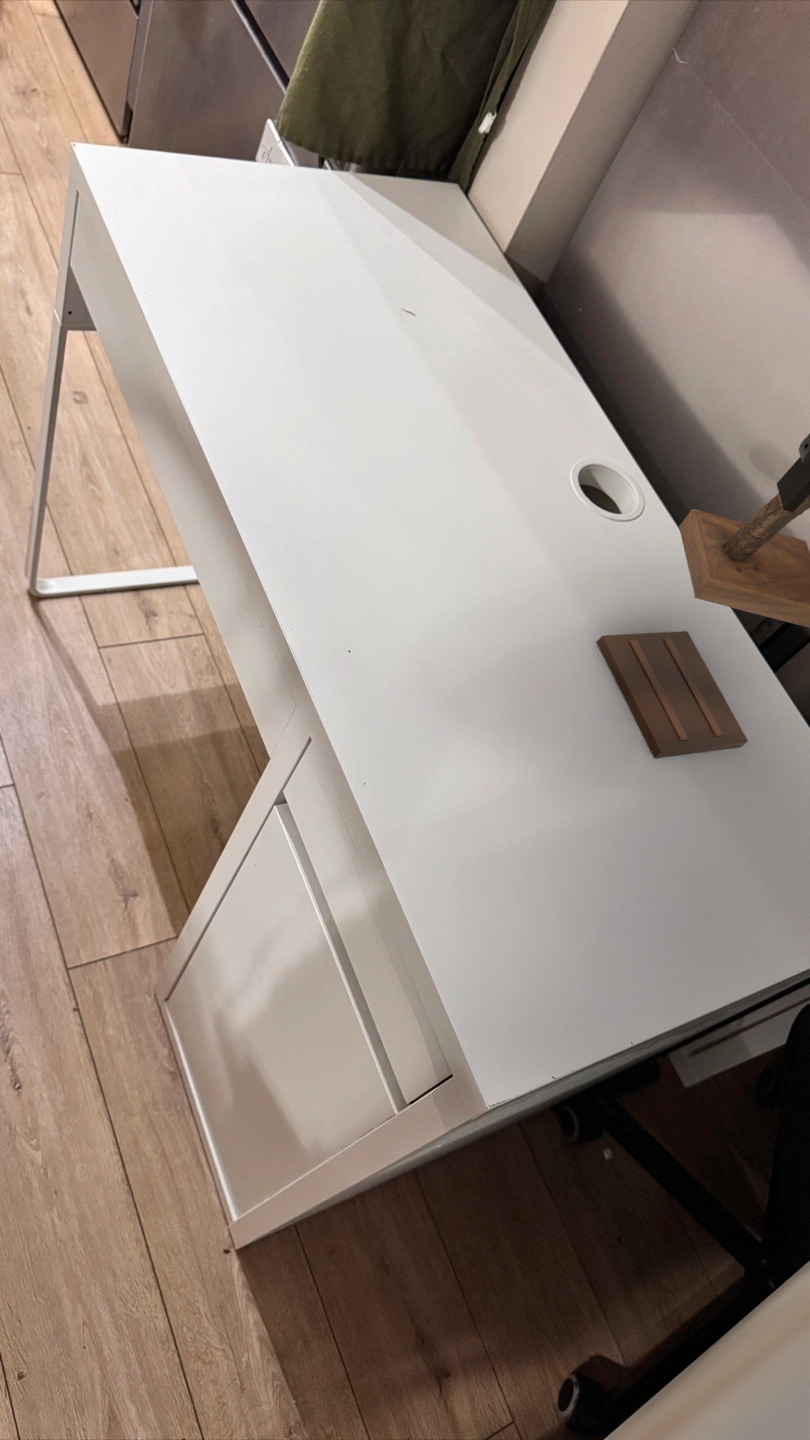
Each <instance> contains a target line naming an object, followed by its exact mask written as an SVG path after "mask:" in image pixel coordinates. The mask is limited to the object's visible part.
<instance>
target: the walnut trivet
mask: <svg viewBox="0 0 810 1440" xmlns="http://www.w3.org/2000/svg"><path fill="white" fill-rule="evenodd" d="M596 644H597V646H598V649H599V650H600V652H601V654H602V656H603V657H604V660H605V662H606V664H607V666H608V668H609V670H610V672H611V674H612V676H613V678H614V680H615V682H616V684H617V686H618V688H619V690H620V692H621V694H622V696H623V698H624V700H625V702H626V703H627V706H628V708H629V710H630V712H631V714H632V716H633V718H634V720H635V721H636V724H637V726H638V728H639V730H640V732H641V733H642V736H643V738H644V740H645V742H646V744H647V746H648V748H649V749H650V752H651V754H652V755H653V758H654V759H658V758H665V757H674V756H680V755H681V756H682V755H687V754H688V755H689V754H696V753H705V752H713V751H719V750H727V749H735V748H742V747H743V746H744V745H745V744H747V743H748V742H749V740H748V738H747V737H746V734H745V733H744V731H743V728H742V727H741V725H740V724H739V722H738V720H737V719H736V717H735V715H734V712H733V711H732V709H731V707H730V705H729V704H728V702H727V700H726V699H725V697H724V695H723V693H722V691H721V690H720V688H719V686H718V684H717V682H716V680H715V679H714V677H713V675H712V673H711V671H710V669H709V668H708V666H707V665H706V662H705V661H704V659H703V657H702V655H701V654H700V652H699V650H698V647H697V646H696V644H695V643H694V641H693V639H692V637H691V635H690V633H689V631H687V630H686V631H681V630H680V631H665V632H664V631H663V632H662V631H661V632H646V633H643V632H642V633H626V634H605V635H601V636H600V638H599V639H597V641H596Z"/></svg>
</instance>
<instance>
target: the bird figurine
mask: <svg viewBox="0 0 810 1440" xmlns="http://www.w3.org/2000/svg"><path fill="white" fill-rule="evenodd" d="M809 509H810V495H809V496H808V497H807V498H806V499H805V500H804V501H803V502H802V503H801V505H800V506H799V507H798V508H797V509H796V510H795V511H794V512H793V513H791V512H789V511H786V510H784V509H783V506H782V502H781V498H780V495H779V492H778V493H777V494H775V496H773V497H772V498H771V499H770V500H769V501H768V502H767V503H766V504H764V506H762V507H761V508H760V509H759V510H758V511H757V512H756V513H753V514H752V515H751V516H750V517H749V519H748V520H746V522H741V521H738V520H734V519H730V518H727V517H724V516H720V515H717V514H712V513H710V512H706V511H703V510H699V509H695V508H694V509H691V510H690V512H689V513H688V514H687V515H686V516H685V518H684V519H683V520H682V522H681V523H680V524H679V526H678V529H679V533H680V538H681V541H682V542H681V543H682V546H683V550H684V551H683V552H684V555H685V559H686V564H687V567H688V568H687V569H688V572H689V578H690V581H691V586H692V590H693V594H694V598H695V599H698V600H701V601H705V602H708V603H712V604H717V605H721V606H724V607H728V608H732V609H736V610H740V611H743V612H747V613H751V614H755V615H759V616H763V617H766V618H771V619H775V620H778V621H782V622H786V623H789V624H793V625H797V626H801V627H805V628H809V629H810V550H809V549H810V548H809V546H808V543H807V541H806V540H804V539H800V538H797V537H793V536H790V535H786V534H782V533H779V532H780V531H781V530H782V529H783V528H785V527H786V526H787V525H788V524H789V523H791V521H793V520H794V519H796V518H798V516H801V515H803V514H804V513H805V512H806V511H807V510H809Z"/></svg>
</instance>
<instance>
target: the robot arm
mask: <svg viewBox="0 0 810 1440" xmlns="http://www.w3.org/2000/svg"><path fill="white" fill-rule="evenodd" d="M798 453H799V458H798V459H797V460H796V461H795V462H794V463H793V464H792V465H791V466H790V467H789V469H788V470H787V471H786V472H785V473H784V474H783V475H782V477H780V479H779V480H778V481H777V482H776V487H777V491H778V493H779V495H780V498H781V502H782V506H783V509H784V510H786V511H789V512H791V513H793V512H794V511H795V510H796V509H797V508H798V507H799V506H800V505H801V503H802V502H803V501H804V500H805V499H806V498H807V497H808V496H809V495H810V432H809V433H808V434H807V436H806V437H805V438H804V439H802V441H801V442H800V445H799V447H798ZM603 1440H810V1260H809V1261H807V1263H805V1264H804V1265H803V1266H802V1267H801V1268H799V1269H798V1270H797V1271H796V1272H795V1273H794V1274H793V1275H791V1276H790V1277H789V1278H788V1279H787V1280H786V1281H784V1282H783V1283H782V1284H781V1285H780V1286H778V1288H777V1289H775V1290H774V1291H773V1292H772V1293H771V1294H770V1295H768V1296H767V1297H766V1298H765V1299H764V1300H762V1301H761V1302H760V1303H759V1304H758V1305H756V1307H755V1308H753V1309H752V1310H751V1311H749V1313H748V1314H747V1315H745V1316H744V1317H743V1318H742V1319H741V1320H740V1321H738V1322H737V1323H736V1324H735V1325H734V1326H733V1327H732V1328H731V1329H729V1330H728V1331H727V1332H726V1333H725V1334H724V1335H722V1336H721V1337H720V1338H719V1339H718V1340H717V1341H716V1342H715V1343H713V1344H712V1345H711V1346H709V1348H707V1350H705V1351H704V1352H703V1353H701V1355H699V1356H698V1357H697V1358H696V1359H695V1360H694V1361H693V1362H691V1363H690V1364H689V1365H688V1366H687V1367H686V1368H684V1369H683V1370H682V1371H681V1372H680V1373H679V1374H678V1375H677V1376H675V1377H674V1378H673V1379H672V1380H671V1381H670V1382H668V1383H667V1384H666V1385H665V1386H664V1387H663V1388H662V1389H660V1390H659V1391H658V1392H657V1393H656V1394H655V1395H654V1396H652V1397H651V1398H650V1399H649V1400H648V1401H646V1402H645V1403H644V1404H643V1405H642V1406H640V1408H639V1409H637V1410H636V1411H635V1412H634V1413H633V1414H632V1415H631V1416H629V1417H628V1418H627V1419H626V1420H625V1421H623V1422H622V1423H621V1424H620V1425H619V1426H618V1427H617V1428H615V1429H614V1430H613V1431H612V1432H610V1434H608V1436H606V1437H605V1438H604V1439H603Z"/></svg>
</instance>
